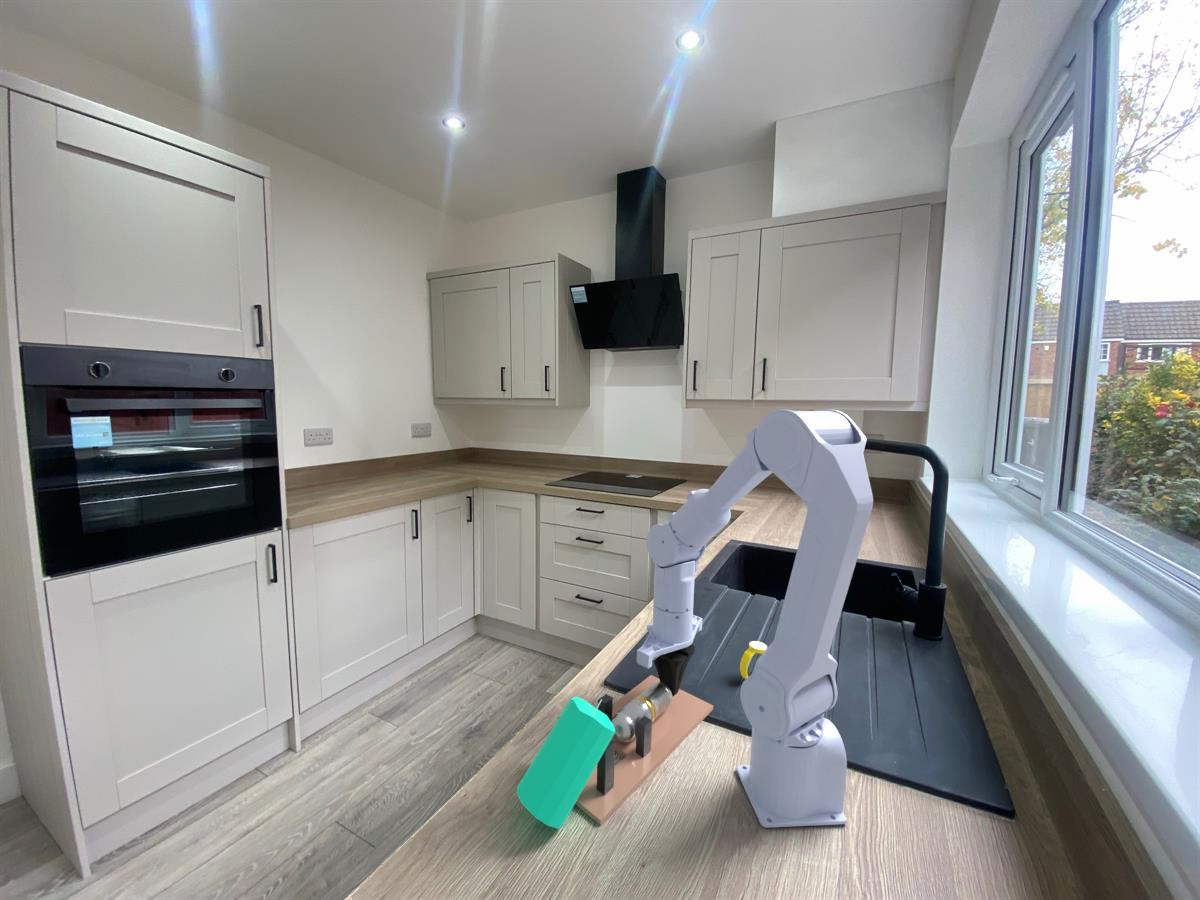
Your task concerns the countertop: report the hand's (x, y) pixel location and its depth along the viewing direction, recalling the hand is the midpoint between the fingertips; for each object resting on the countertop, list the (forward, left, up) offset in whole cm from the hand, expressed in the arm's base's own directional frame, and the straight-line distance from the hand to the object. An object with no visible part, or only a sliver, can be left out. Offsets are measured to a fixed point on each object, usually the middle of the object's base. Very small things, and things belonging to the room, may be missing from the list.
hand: (669, 691), depth 69 cm
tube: (+5, +5, -1) cm, 7 cm away
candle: (+18, +19, 0) cm, 26 cm away
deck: (+7, +7, -2) cm, 9 cm away
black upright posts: (+10, +10, -1) cm, 15 cm away
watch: (-15, -5, -2) cm, 16 cm away
